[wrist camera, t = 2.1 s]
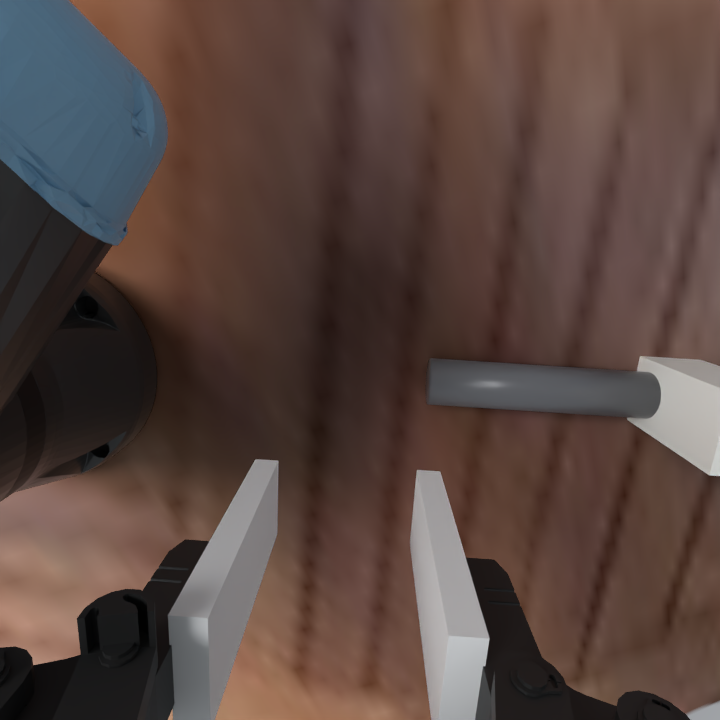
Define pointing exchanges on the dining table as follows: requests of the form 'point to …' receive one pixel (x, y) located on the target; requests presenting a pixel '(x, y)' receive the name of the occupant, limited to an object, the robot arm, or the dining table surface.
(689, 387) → the plug
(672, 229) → the dining table surface
